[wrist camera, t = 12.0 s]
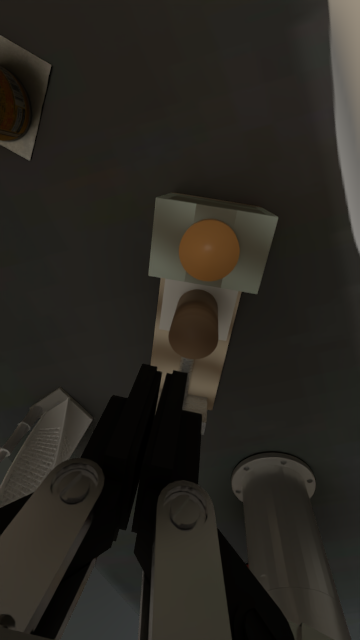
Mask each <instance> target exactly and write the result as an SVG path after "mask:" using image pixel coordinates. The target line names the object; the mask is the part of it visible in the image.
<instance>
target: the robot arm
mask: <svg viewBox="0 0 360 640" xmlns="http://www.w3.org/2000/svg"><path fill="white" fill-rule="evenodd" d="M187 376H188V373H185V372H180V371H176V370H173V373H172V374H170V373H167V374H166V377H165V381H164V385H163V388H162V392H161V396H160V399H159V403H158V407H157V401H158V395H159V389H160V383H161V377H162V372H161V371H157V367H156V366H151V365H147V364H142V366H141V368H140V371H139V373H138V376H137V378H136V380H135V383H134V385H133V387H132V390H131V392H130V394H129V397H128V398H124V397H119V396H115V395H113V396H112V397H111V399H110V400H109V402H108V404H107V406H106V408H105V410H104V412H103V414H102V416H101V418H100V420H99V422H98V424H97V426H96V428H95V430H94V432H93V434H92V436H91V438H90V440H89V442H88V444H87V446H86V448H85V450H84V452H83V454H82V456H81V458H73V459H69V460H66V461H64V462H62V463H60V464H59V465H57V466H56V467H55V468H54V469H53V470H52V471H51V472H50V473H49V474H48V475H47V477H46V478H45V479H44V480H43V482H42V483H41V484H40V486H39V487H38V488H37V489H36V491H35V492H33V493H31V494H29V495H26V496H24V497H22V498H20V499H18V500H16V501H14V502H12V503H10V504H7V505H5V506H3V507H1V508H0V640H60V639H61V637H62V635H63V633H64V630H65V628H66V626H67V624H68V622H69V620H70V617H71V615H72V613H73V611H74V608H75V607H76V604H77V602H78V600H79V598H80V596H81V593H82V591H83V589H84V587H85V585H86V583H87V581H88V578H89V576H90V574H91V572H92V570H93V568H94V566H95V563H96V560H97V557H98V556H99V555H100V554H102V553H103V552H105V551H106V550H108V549H109V548H111V545H112V542H113V541H116V539H117V535H118V532H119V529H122V530H126V528H127V525H128V521H129V517H130V513H131V510H132V506H133V502H134V498H135V495H136V491H137V487H138V483H139V487H138V493H137V500H136V506H135V512H134V518H133V525H132V531H131V532H135V533H137V537H136V543H135V549H134V554H135V556H136V558H137V559H138V561H139V563H140V565H141V567H142V569H143V574H142V588H141V603H140V618H139V633H138V640H351V636H350V633H349V630H348V626H347V623H346V620H345V616H344V613H343V610H342V606H341V603H340V600H339V596H338V593H337V589H336V586H335V583H334V579H333V576H332V573H331V569H330V566H329V562H328V559H327V556H326V552H325V549H324V546H323V542H322V539H321V535H320V532H319V529H318V525H317V522H316V519H315V515H314V512H313V508H312V505H311V502H310V498H311V497H312V495H313V494H314V491H315V489H316V482H315V478H314V475H313V473H312V470H311V469H310V468H309V466H308V465H307V464H305V463H304V462H303V461H301V460H300V459H298V458H296V457H293V456H291V455H287V454H283V453H274V452H273V453H262V454H257V455H254V456H251V457H249V458H247V459H245V460H243V461H242V462H240V463H239V464H238V465H237V466H236V468H235V469H234V471H233V473H232V477H231V482H232V489H233V492H234V494H235V495H236V497H237V498H238V499H239V500H240V501H242V502H243V507H244V519H245V530H246V542H247V553H248V565H249V568H248V567H247V566H246V564H245V563H244V562H243V560H242V559H241V558H240V557H239V555H238V554H237V553H236V551H235V550H234V549H233V547H232V546H231V545H230V544H229V542H228V541H227V540H226V538H225V537H224V536H223V535H222V533H221V532H220V531H219V529H218V528H217V526H216V519H215V511H214V507H213V503H212V500H211V498H210V497H209V495H208V493H207V492H206V491H205V490H204V489H203V488H202V487H201V486H199V485H198V475H199V460H200V444H201V429H202V414H200V413H195V412H190V411H186V410H182V407H183V401H184V395H185V388H186V382H187ZM156 407H157V410H156ZM155 413H156V414H155ZM139 480H140V481H139Z"/></svg>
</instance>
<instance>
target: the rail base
mask: <svg viewBox="0 0 360 640" xmlns="http://www.w3.org/2000/svg"><path fill="white" fill-rule="evenodd" d="M203 219H217V220H220V221H222V222H224V223H226V224H227V225H229V226H230V227H231V228H232V230H233V231H234V233H235V234H236V237H237V239H238V242H239V248H240V254H239V259H238V262H237V264H236V266H235V267H234V269H233V270H232V271H231V272H230V273H229V274H228V275H227V276H225V277H224V278H222V279H219V280H216V281H201V280H198V279H196V278H194V277H192V276H191V275H189V274H188V273H187V272H186V270H185V269H184V268H183V266H182V264H181V261H180V258H179V245H180V242H181V239H182V237H183V235H184V234H185V232H186V231H187V229H188V228H189V227H190V226H191V225H193V224H194V223H196V222H198V221H200V220H203ZM277 221H278V217H277V216H276V215H274V214H272V213H271V212H269V211H267V210H266V209H264V208H262V207H260V206H254V205H248V204H242V203H236V202H229V201H223V200H217V199H211V198H204V197H198V196H192V195H186V194H179V193H169V194H166V195H162V196H159V197H156V202H155V213H154V223H153V233H152V244H151V254H150V264H149V274H148V276H154V277H159V278H161V281H160V290H159V298H158V307H157V315H156V324H155V332H154V341H153V349H152V358H151V366H156V367H157V371H161V372H162V377H161V383H160V389H159V395H158V401H157V407H158V403H159V399H160V396H161V392H162V388H163V385H164V381H165V377H166V374H167V373H170V374H172V373H173V370H176V371H180V372H185V373H188V376H187V382H186V388H185V395H184V401H183V407H182V410H186V411H190V412H195V413H200V414H202V429H201V434H202V435H204V431H205V426H206V420H207V409H208V410H212V408H213V404H214V400H215V396H216V392H217V388H218V384H219V380H220V376H221V372H222V368H223V364H224V360H225V356H226V352H227V348H228V344H229V340H230V336H231V332H232V328H233V324H234V320H235V316H236V312H237V308H238V304H239V300H240V296H241V292H247V293H253V294H257V293H258V290H259V286H260V283H261V279H262V275H263V272H264V268H265V264H266V261H267V257H268V254H269V250H270V246H271V243H272V239H273V236H274V232H275V228H276V225H277ZM165 279H171V280H177V281H183V282H189V283H194V284H200V285H206V286H212V287H218V288H224V289H230V290H235V291H238V295H237V299H236V303H235V307H234V311H233V315H232V320H231V324H230V328H229V332H228V336H227V340H226V341H223V340H218V344H217V347H216V349H215V350H214V351H213V352H212V353H211V354H210V355H208V356H207V357H205V358H201V359H187V358H184V357H182V356H180V355H179V354H177V353H176V352H175V351H174V350H173V349H172V347H171V345H170V343H169V338H168V335H169V331H167V330H161V329H159V325H160V317H161V309H162V301H163V293H164V285H165ZM157 407H156V410H157ZM155 414H156V413H155Z"/></svg>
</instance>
